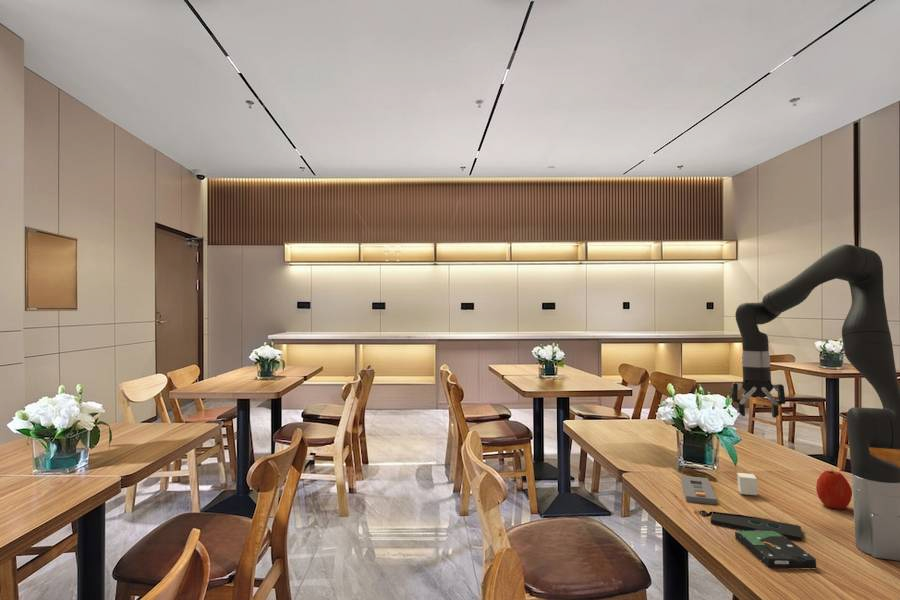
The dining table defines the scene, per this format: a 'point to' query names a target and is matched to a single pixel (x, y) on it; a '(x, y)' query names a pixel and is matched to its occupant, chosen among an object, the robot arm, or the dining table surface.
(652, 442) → the dining table surface
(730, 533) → the dining table surface
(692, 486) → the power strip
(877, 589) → the dining table surface
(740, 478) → the charger
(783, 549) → the disk drive
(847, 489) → the apple
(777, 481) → the dining table surface
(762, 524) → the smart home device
